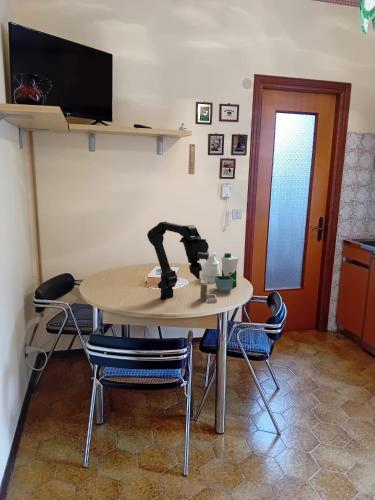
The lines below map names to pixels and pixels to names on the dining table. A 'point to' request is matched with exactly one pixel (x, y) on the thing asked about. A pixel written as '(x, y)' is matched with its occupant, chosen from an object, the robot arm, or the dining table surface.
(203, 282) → the block
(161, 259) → the robot arm
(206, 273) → the white rounded cone
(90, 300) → the dining table surface
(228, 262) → the milk carton
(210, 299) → the slate board
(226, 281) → the flower pot
